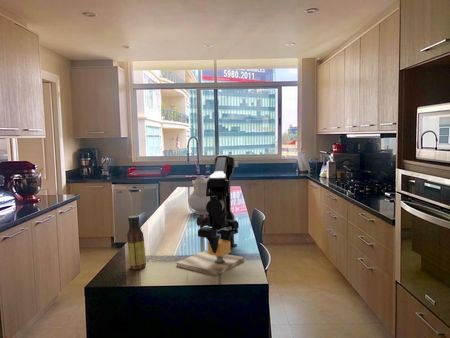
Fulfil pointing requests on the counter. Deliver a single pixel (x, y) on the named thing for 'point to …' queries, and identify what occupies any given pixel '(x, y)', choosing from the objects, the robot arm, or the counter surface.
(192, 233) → the counter surface
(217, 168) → the robot arm
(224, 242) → the amber foam cube
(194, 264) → the birch board
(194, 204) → the ceramic pitcher
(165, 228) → the counter surface
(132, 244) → the sauce bottle
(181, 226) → the counter surface
